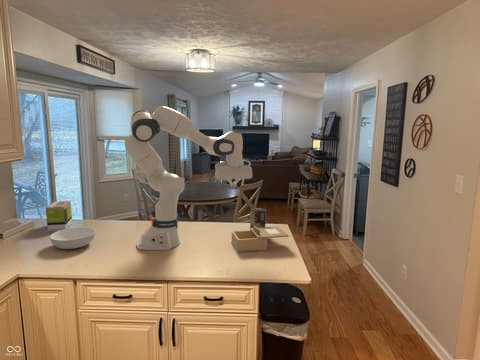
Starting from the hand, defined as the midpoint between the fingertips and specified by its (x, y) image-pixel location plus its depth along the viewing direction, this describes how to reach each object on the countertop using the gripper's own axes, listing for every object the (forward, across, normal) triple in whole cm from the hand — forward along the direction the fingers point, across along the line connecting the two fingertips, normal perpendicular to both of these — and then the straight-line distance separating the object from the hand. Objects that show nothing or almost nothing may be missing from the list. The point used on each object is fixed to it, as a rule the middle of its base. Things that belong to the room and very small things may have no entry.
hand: (233, 187), depth 172 cm
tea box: (+31, -99, +41) cm, 112 cm away
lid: (+24, +18, -10) cm, 31 cm away
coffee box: (+31, +17, +7) cm, 36 cm away
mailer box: (+31, +7, -10) cm, 33 cm away
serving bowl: (+31, -83, +7) cm, 89 cm away
